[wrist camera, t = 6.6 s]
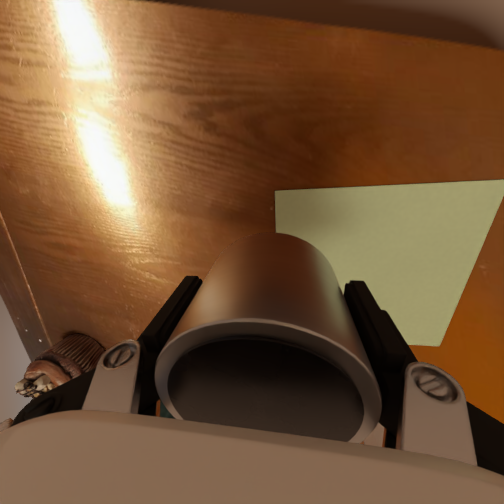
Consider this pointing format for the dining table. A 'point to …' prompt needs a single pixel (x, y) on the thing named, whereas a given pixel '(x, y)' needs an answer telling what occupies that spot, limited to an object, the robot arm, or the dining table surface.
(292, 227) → the trivet mat
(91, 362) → the cupcake
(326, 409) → the steel pot
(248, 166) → the dining table surface
